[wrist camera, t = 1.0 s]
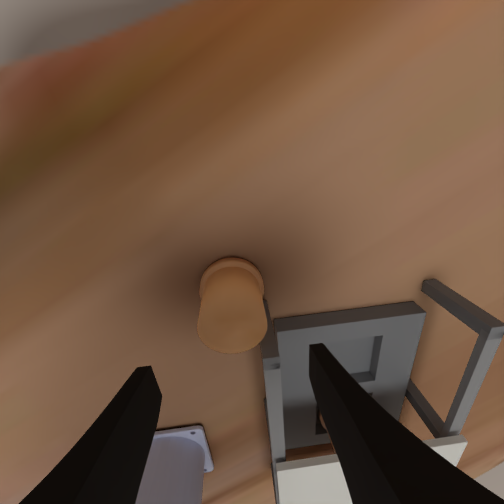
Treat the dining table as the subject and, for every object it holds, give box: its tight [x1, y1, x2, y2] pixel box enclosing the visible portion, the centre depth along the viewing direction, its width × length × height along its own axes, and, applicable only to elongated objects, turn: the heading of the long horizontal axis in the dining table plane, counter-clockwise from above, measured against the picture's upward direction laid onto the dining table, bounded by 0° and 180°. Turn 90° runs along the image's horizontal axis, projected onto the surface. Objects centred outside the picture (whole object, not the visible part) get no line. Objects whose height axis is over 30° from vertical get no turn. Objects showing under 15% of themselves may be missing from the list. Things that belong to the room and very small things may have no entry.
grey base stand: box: [260, 279, 504, 504], centre depth 22 cm, size 15×24×6 cm, turn 5°
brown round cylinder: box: [197, 258, 267, 354], centre depth 16 cm, size 5×5×5 cm
